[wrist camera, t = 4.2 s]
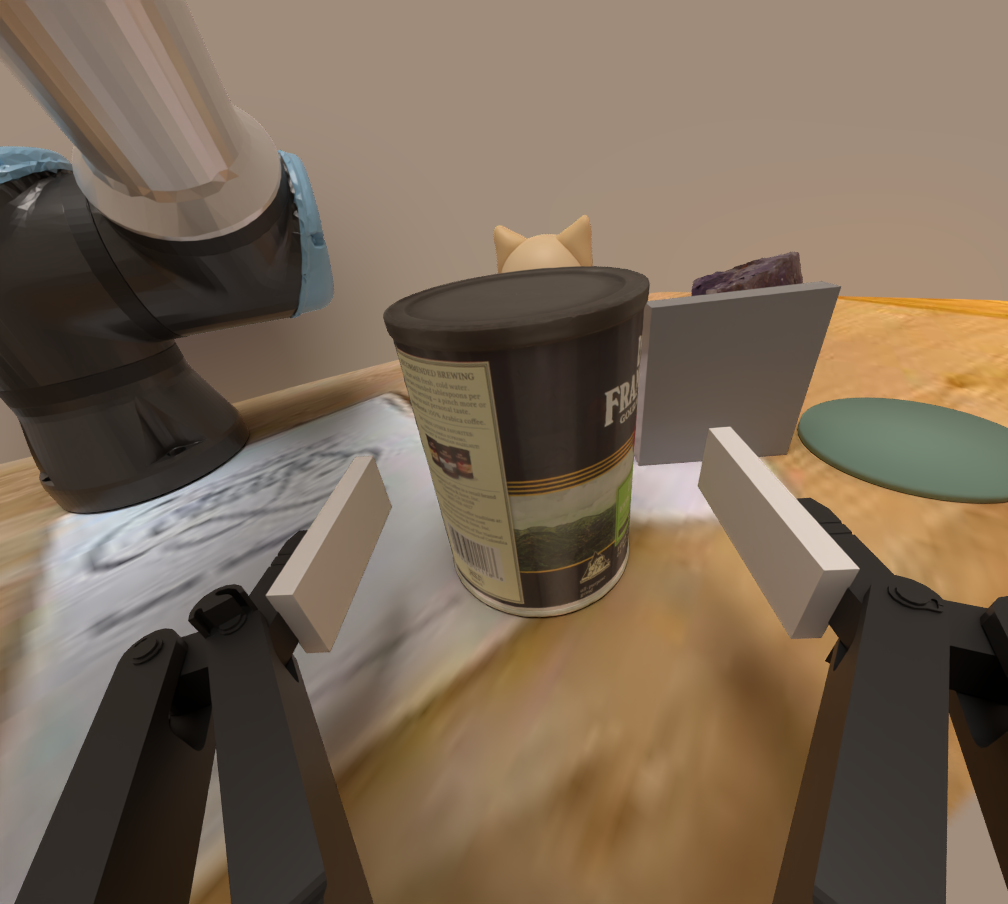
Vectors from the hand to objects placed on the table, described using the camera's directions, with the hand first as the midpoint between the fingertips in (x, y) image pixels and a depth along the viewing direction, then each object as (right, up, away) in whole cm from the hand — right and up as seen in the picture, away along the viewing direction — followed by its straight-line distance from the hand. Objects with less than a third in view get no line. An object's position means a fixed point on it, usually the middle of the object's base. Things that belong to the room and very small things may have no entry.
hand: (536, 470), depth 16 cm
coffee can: (+1, -5, +7) cm, 9 cm away
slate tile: (+13, +1, +12) cm, 18 cm away
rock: (+28, +15, +32) cm, 44 cm away
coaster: (+26, +1, +11) cm, 28 cm away
